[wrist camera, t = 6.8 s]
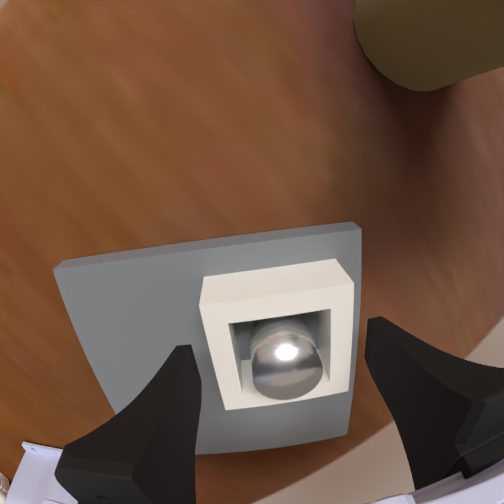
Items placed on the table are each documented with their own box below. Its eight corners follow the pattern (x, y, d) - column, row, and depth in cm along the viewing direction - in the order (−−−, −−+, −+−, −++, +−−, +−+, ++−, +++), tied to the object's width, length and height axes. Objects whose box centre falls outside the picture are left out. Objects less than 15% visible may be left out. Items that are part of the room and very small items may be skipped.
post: (251, 349, 15) (256, 404, 12) (244, 303, 14) (248, 354, 11) (305, 341, 15) (322, 394, 12) (303, 294, 14) (323, 343, 11)
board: (143, 441, 19) (140, 453, 18) (63, 260, 14) (52, 269, 13) (342, 422, 19) (346, 434, 18) (352, 221, 14) (361, 228, 13)
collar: (225, 375, 16) (225, 410, 13) (203, 276, 14) (199, 305, 11) (335, 359, 16) (348, 391, 13) (335, 258, 14) (353, 283, 11)
